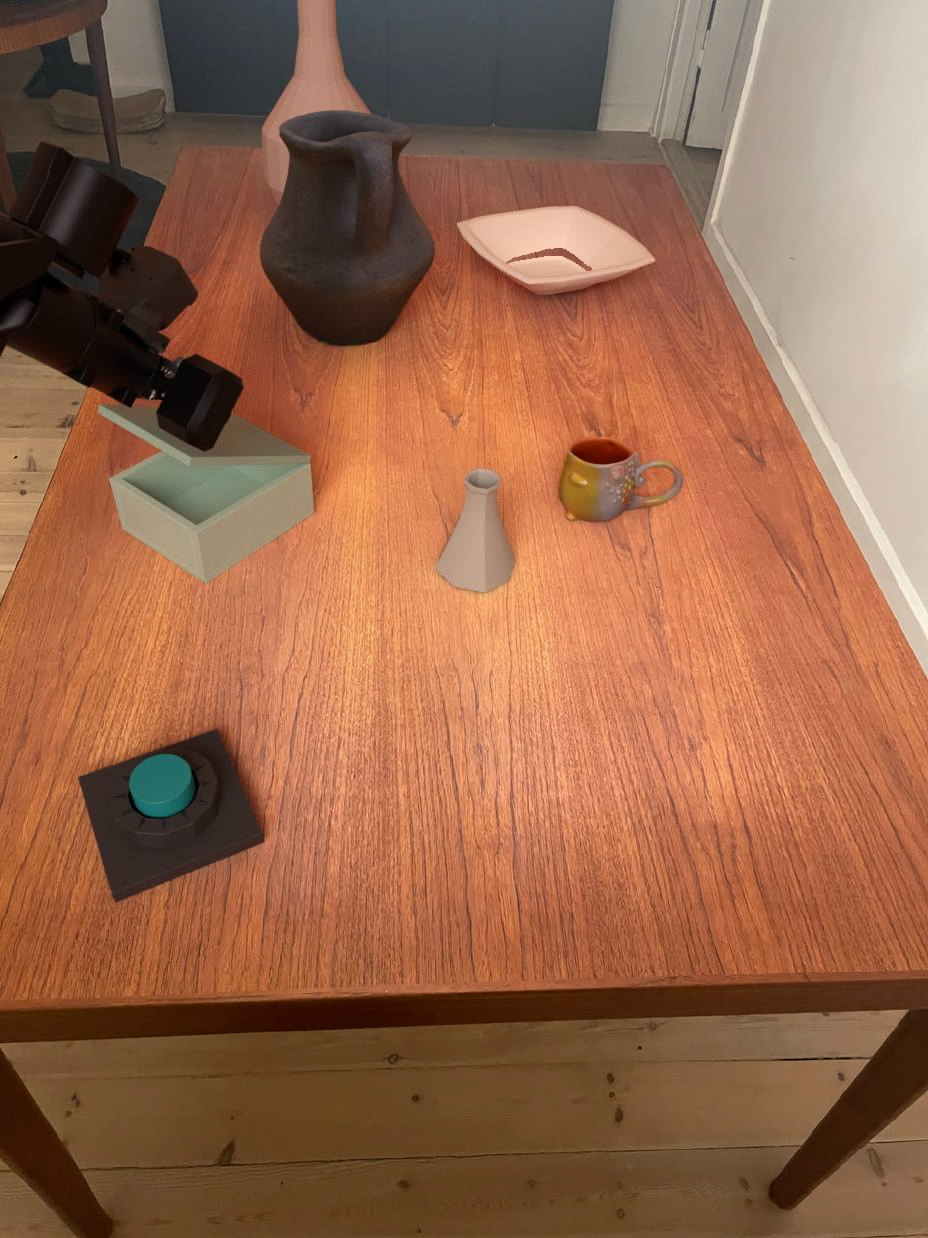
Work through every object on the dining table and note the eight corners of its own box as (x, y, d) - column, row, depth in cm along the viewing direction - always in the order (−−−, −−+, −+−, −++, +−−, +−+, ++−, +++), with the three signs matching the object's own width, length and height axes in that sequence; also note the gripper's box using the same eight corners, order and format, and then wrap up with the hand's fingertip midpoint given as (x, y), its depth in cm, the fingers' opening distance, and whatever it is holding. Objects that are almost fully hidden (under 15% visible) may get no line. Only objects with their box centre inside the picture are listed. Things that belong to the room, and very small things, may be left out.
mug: (555, 522, 89) (564, 466, 85) (557, 481, 94) (566, 426, 89) (677, 536, 89) (693, 480, 84) (673, 494, 94) (687, 439, 89)
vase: (253, 240, 132) (227, -6, 111) (286, 196, 145) (269, -31, 124) (371, 253, 131) (368, 8, 110) (394, 209, 144) (395, -19, 123)
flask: (528, 561, 85) (540, 473, 78) (488, 604, 80) (497, 515, 73) (463, 532, 87) (469, 444, 80) (420, 572, 83) (423, 483, 76)
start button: (142, 827, 60) (137, 812, 58) (127, 781, 62) (122, 766, 61) (202, 804, 61) (198, 789, 60) (185, 760, 64) (181, 745, 62)
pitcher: (394, 281, 125) (395, 77, 108) (462, 356, 112) (475, 136, 94) (248, 303, 118) (223, 89, 101) (301, 385, 105) (283, 154, 87)
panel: (115, 903, 58) (105, 879, 56) (81, 786, 65) (71, 761, 62) (264, 842, 62) (260, 818, 60) (219, 738, 68) (213, 712, 66)
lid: (188, 466, 72) (203, 401, 70) (96, 412, 77) (108, 349, 75) (309, 463, 84) (325, 407, 82) (223, 417, 89) (236, 363, 87)
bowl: (440, 260, 131) (442, 220, 127) (576, 239, 139) (581, 200, 135) (516, 330, 117) (521, 287, 113) (662, 301, 126) (671, 260, 122)
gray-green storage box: (205, 584, 80) (196, 533, 76) (122, 529, 85) (108, 478, 81) (314, 513, 88) (311, 463, 84) (232, 466, 93) (225, 417, 89)
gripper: (206, 266, 60) (329, 360, 74) (36, 189, 67) (178, 288, 82) (130, 417, 61) (266, 481, 75) (-30, 325, 68) (122, 399, 82)
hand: (207, 406), depth 78 cm, fingers closed on lid, 5 cm apart
